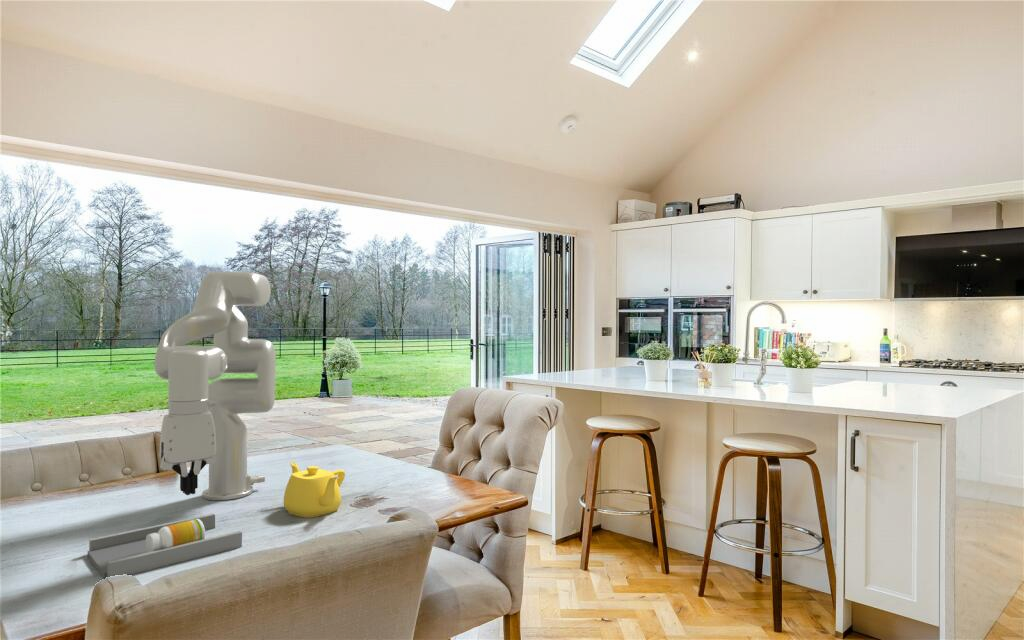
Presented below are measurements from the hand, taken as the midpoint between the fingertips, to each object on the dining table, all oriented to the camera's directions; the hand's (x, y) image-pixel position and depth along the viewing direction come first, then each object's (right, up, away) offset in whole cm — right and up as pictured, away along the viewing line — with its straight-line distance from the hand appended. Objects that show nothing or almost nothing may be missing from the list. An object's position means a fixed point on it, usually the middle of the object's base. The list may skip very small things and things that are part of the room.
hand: (188, 492), depth 131 cm
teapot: (+19, -11, +25) cm, 34 cm away
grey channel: (-3, -11, -4) cm, 12 cm away
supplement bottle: (+4, -7, -3) cm, 9 cm away
